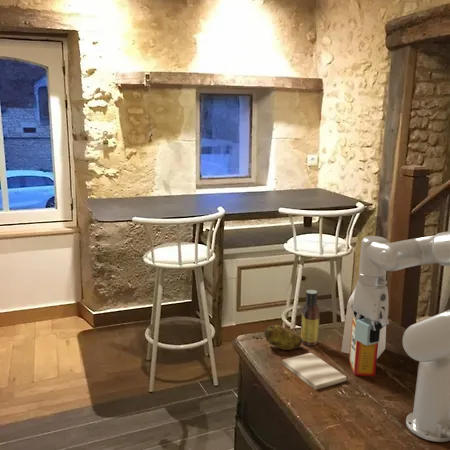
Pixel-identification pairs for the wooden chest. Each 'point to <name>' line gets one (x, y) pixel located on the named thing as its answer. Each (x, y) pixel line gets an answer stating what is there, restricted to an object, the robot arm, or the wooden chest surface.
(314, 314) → the sauce bottle
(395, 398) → the wooden chest surface
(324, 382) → the birch board
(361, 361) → the baking soda box
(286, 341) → the potato
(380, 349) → the milk
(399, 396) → the wooden chest surface
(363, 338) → the teal block
